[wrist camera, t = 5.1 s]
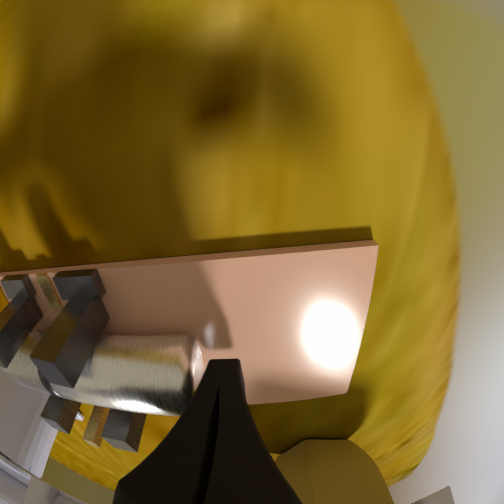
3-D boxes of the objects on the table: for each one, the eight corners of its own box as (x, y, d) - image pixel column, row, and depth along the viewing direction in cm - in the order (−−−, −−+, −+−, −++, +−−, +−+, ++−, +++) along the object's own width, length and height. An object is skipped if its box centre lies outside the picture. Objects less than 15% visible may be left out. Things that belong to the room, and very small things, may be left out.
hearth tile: (68, 382, 15) (65, 387, 15) (1, 272, 11) (-4, 276, 10) (345, 386, 15) (346, 393, 14) (373, 239, 10) (378, 245, 10)
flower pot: (378, 428, 19) (399, 508, 11) (324, 461, 22) (333, 527, 14) (299, 425, 17) (310, 531, 9) (251, 458, 21) (252, 535, 13)
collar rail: (77, 390, 15) (58, 436, 11) (6, 275, 10) (-38, 322, 6) (165, 403, 15) (152, 462, 11) (96, 268, 10) (42, 339, 6)
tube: (44, 368, 13) (14, 394, 9) (26, 319, 12) (-10, 340, 9) (208, 384, 12) (194, 434, 9) (194, 320, 12) (170, 362, 8)
